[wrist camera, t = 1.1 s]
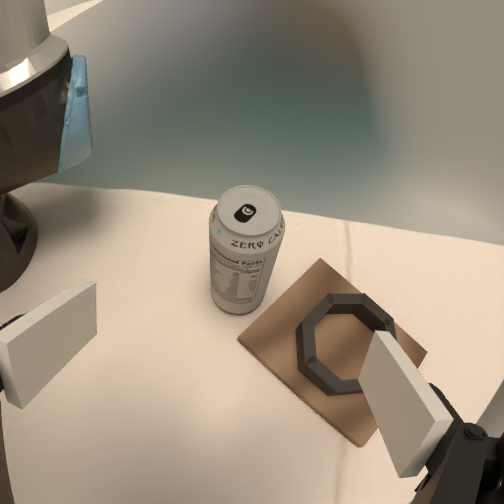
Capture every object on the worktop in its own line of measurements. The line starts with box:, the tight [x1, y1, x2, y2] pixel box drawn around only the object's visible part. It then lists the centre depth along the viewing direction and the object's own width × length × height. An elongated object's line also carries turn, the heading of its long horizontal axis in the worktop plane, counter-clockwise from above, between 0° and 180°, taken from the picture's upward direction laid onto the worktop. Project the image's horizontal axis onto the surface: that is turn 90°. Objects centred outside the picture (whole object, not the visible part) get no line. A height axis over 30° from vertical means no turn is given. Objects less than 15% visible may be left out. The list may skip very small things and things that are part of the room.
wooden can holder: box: [237, 258, 427, 447], centre depth 32 cm, size 18×14×4 cm
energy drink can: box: [209, 185, 285, 314], centre depth 31 cm, size 6×6×15 cm
